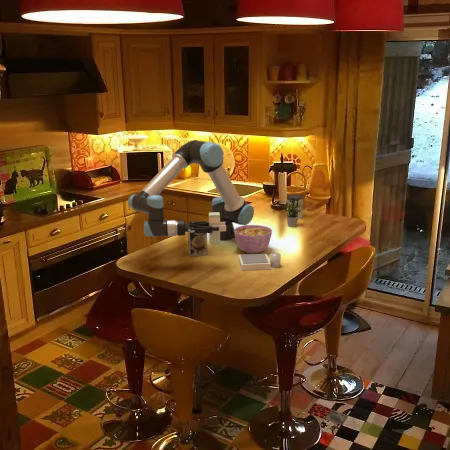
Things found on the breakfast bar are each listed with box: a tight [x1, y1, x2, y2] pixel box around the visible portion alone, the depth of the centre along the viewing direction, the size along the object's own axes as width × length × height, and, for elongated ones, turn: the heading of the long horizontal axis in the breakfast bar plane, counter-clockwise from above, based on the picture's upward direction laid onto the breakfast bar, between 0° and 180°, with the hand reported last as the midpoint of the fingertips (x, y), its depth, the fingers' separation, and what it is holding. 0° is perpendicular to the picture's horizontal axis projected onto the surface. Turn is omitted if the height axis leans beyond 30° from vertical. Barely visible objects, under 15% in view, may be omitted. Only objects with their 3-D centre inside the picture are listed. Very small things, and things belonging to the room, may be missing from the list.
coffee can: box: [286, 193, 304, 220], centre depth 342 cm, size 10×10×14 cm
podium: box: [238, 253, 272, 272], centre depth 263 cm, size 14×14×3 cm
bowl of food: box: [234, 224, 273, 254], centre depth 281 cm, size 20×20×12 cm
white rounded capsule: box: [269, 252, 282, 269], centre depth 261 cm, size 5×5×6 cm
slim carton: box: [208, 211, 221, 246], centre depth 257 cm, size 5×5×15 cm
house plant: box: [282, 200, 304, 228], centre depth 322 cm, size 14×14×16 cm
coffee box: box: [187, 232, 208, 257], centre depth 277 cm, size 9×6×16 cm
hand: (225, 226), depth 257 cm, fingers closed on slim carton, 5 cm apart
